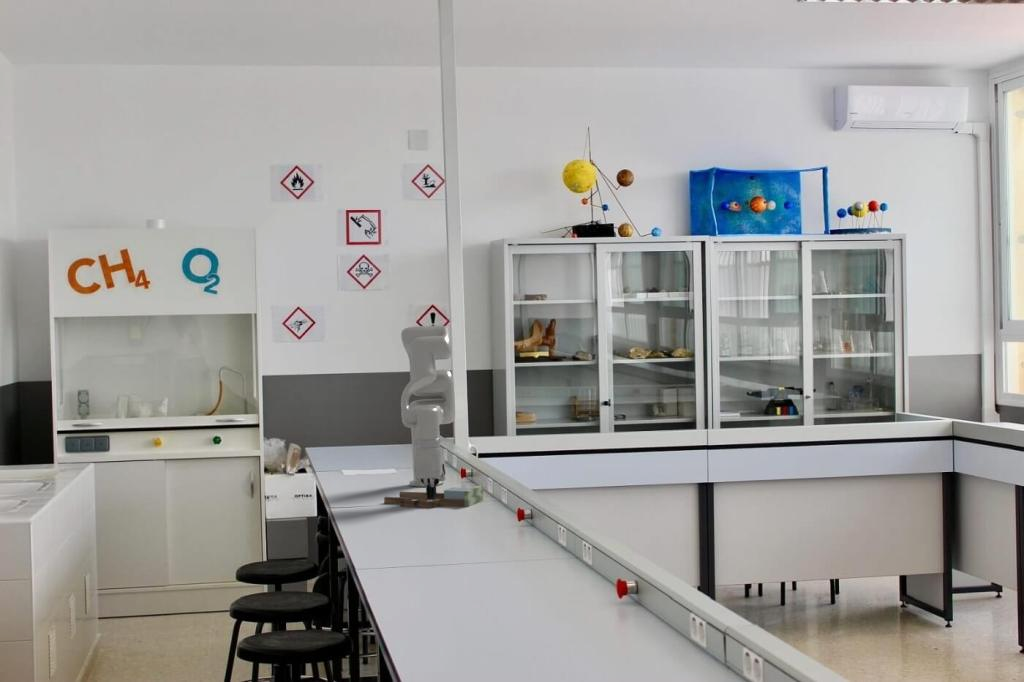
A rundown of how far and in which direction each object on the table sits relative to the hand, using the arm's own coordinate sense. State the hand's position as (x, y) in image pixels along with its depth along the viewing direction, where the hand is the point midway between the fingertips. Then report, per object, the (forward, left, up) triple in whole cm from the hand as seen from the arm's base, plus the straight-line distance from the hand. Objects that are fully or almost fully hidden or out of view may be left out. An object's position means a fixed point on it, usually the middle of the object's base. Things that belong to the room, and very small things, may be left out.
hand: (431, 498), depth 373 cm
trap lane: (+2, +1, -1) cm, 3 cm away
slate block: (+2, +11, -2) cm, 11 cm away
